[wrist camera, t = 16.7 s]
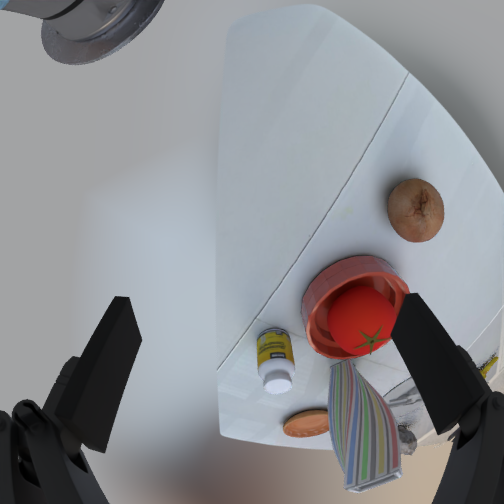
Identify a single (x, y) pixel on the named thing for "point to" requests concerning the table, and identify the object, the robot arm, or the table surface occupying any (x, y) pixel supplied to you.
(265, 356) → the pill bottle
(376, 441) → the vase
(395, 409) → the plate
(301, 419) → the saucer
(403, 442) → the rock
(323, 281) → the red bowl
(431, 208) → the onion
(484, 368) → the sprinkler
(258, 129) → the table surface
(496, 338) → the table surface
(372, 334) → the tomato
